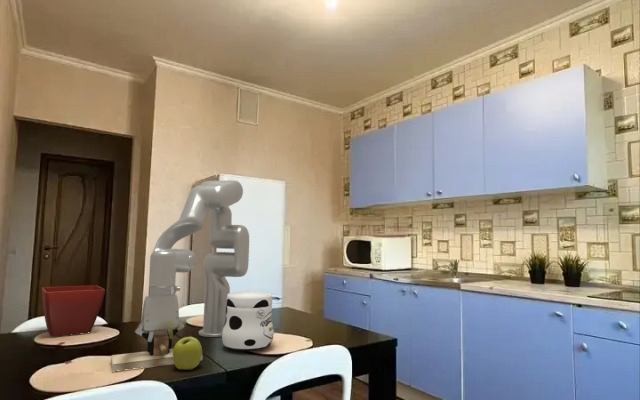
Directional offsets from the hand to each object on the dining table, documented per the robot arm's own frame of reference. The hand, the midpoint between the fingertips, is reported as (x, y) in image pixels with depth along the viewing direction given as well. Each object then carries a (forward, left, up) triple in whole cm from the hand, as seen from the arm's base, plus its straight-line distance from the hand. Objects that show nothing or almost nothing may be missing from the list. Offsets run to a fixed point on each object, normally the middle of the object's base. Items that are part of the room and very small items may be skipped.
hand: (159, 352), depth 117 cm
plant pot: (+25, -53, -2) cm, 59 cm away
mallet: (0, +2, 0) cm, 2 cm away
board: (+1, +1, -2) cm, 3 cm away
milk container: (-28, -1, -2) cm, 29 cm away
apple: (-6, +11, -2) cm, 13 cm away
